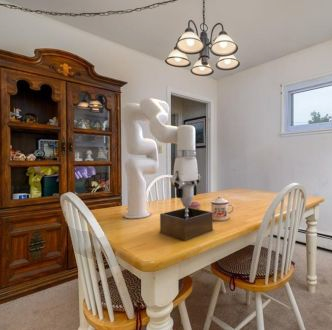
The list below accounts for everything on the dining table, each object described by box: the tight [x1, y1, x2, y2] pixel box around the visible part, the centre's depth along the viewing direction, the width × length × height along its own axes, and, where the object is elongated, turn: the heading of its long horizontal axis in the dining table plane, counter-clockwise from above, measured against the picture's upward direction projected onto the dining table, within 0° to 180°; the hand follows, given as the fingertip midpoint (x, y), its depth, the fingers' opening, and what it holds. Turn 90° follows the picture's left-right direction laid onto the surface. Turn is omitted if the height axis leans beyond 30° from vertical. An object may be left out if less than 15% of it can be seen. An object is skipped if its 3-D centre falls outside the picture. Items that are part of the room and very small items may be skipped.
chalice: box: [179, 183, 195, 219], centre depth 95 cm, size 7×7×18 cm
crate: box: [159, 207, 214, 242], centre depth 95 cm, size 16×16×8 cm
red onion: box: [188, 201, 202, 210], centre depth 123 cm, size 9×8×12 cm
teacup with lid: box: [210, 195, 235, 222], centre depth 116 cm, size 12×9×12 cm
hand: (186, 196), depth 95 cm, fingers closed on chalice, 7 cm apart
